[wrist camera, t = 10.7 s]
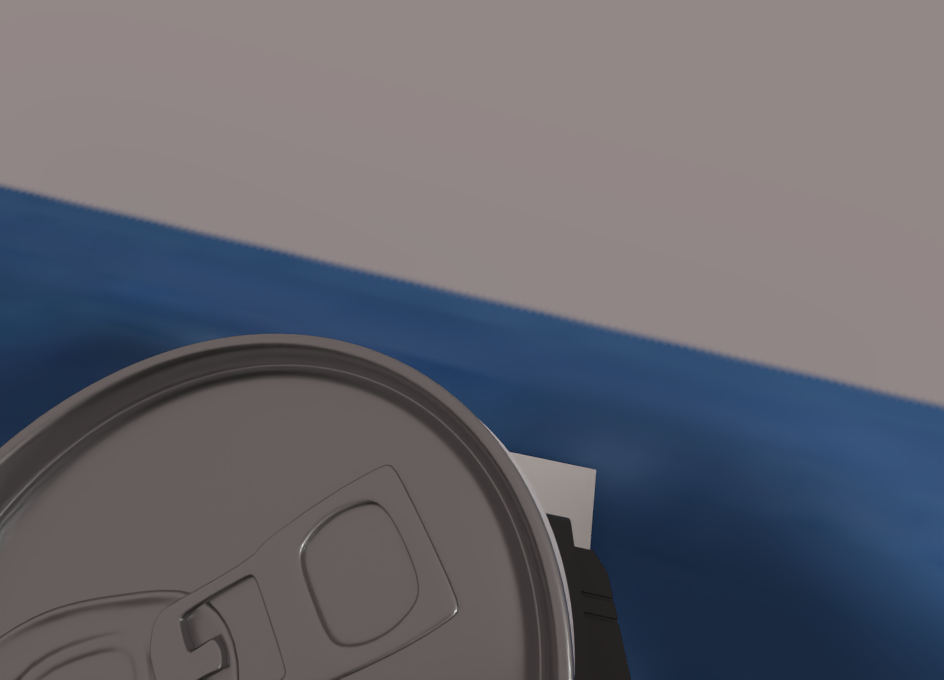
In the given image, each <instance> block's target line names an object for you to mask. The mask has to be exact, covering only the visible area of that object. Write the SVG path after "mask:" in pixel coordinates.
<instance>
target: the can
mask: <svg viewBox="0 0 944 680" xmlns="http://www.w3.org/2000/svg"><path fill="white" fill-rule="evenodd" d="M574 674H575V649H574V630H573V618H572V610H571V602H570V596H569V590H568V585H567V580H566V575H565V571H564V567H563V563H562V559H561V555H560V552H559V549H558V545H557V542H556V539H555V536H554V533H553V531H552V528H551V526H550V523H549V520H548V518H547V516H546V513H545V511H544V509H543V507H542V505H541V503H540V501H539V499H538V497H537V495H536V493H535V491H534V489H533V487H532V485H531V484H530V482H529V480H528V479H527V477H526V475H525V474H524V472H523V471H522V469H521V468H520V466H519V465H518V463H517V462H516V460H515V459H514V458H513V456H512V455H511V454H510V452H509V451H508V450H507V449H506V447H505V446H504V445H503V444H502V443H501V441H500V440H499V439H498V438H497V437H496V436H495V435H494V434H493V433H492V431H491V430H490V429H489V428H488V427H486V426H485V425H484V424H483V423H482V422H481V421H480V420H479V419H478V418H477V417H476V416H475V415H474V414H473V413H472V412H471V411H470V410H469V409H468V408H467V407H466V406H465V405H463V404H462V403H461V402H460V401H459V400H458V399H457V398H455V397H454V396H453V395H452V394H451V393H449V392H448V391H447V390H445V389H444V388H443V387H441V386H440V385H439V384H437V383H436V382H434V381H433V380H431V379H430V378H428V377H427V376H425V375H424V374H422V373H420V372H419V371H417V370H415V369H413V368H412V367H410V366H408V365H406V364H404V363H402V362H400V361H398V360H396V359H394V358H391V357H389V356H387V355H384V354H382V353H379V352H377V351H374V350H371V349H368V348H365V347H362V346H359V345H355V344H352V343H348V342H344V341H339V340H334V339H329V338H323V337H317V336H308V335H297V334H255V335H243V336H234V337H227V338H221V339H215V340H210V341H205V342H200V343H196V344H192V345H188V346H184V347H181V348H177V349H174V350H171V351H168V352H165V353H162V354H159V355H156V356H153V357H150V358H148V359H145V360H143V361H140V362H137V363H135V364H133V365H130V366H128V367H126V368H123V369H121V370H119V371H117V372H115V373H113V374H111V375H109V376H107V377H105V378H103V379H101V380H99V381H97V382H95V383H93V384H91V385H90V386H88V387H86V388H84V389H82V390H81V391H79V392H77V393H76V394H74V395H72V396H71V397H69V398H67V399H66V400H64V401H63V402H61V403H60V404H58V405H56V406H55V407H53V408H52V409H50V410H49V411H47V412H46V413H45V414H43V415H42V416H40V417H39V418H38V419H36V420H35V421H33V422H32V423H31V424H29V425H28V426H27V427H25V428H24V429H23V430H21V431H20V432H19V433H18V434H16V435H15V436H14V437H13V438H11V439H10V440H9V441H8V442H7V443H5V444H4V445H3V446H2V447H1V448H0V680H574Z"/></svg>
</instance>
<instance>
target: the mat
mask: <svg viewBox="0 0 944 680" xmlns="http://www.w3.org/2000/svg"><path fill="white" fill-rule="evenodd" d="M510 454H511V455H512V456H513V458H514V459H515V460H516V462H517V463H518V465H519V466H520V468H521V469H522V471H523V472H524V474H525V475H526V477H527V479H528V480H529V482H530V484H531V485H532V487H533V489H534V491H535V493H536V495H537V497H538V499H539V501H540V503H541V505H542V507H543V509H544V511H545V513H548V514H552V515H557V516H562V517H566V518H569V519H570V521H571V526H572V533H573V540H574V546H575V547H580V548H585V549H589V550H590V543H591V530H592V517H593V504H594V491H595V478H596V470H594V469H590V468H585V467H580V466H575V465H570V464H565V463H561V462H556V461H551V460H546V459H541V458H536V457H531V456H527V455H522V454H517V453H512V452H510Z"/></svg>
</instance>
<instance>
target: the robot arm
mask: <svg viewBox="0 0 944 680" xmlns="http://www.w3.org/2000/svg"><path fill="white" fill-rule="evenodd" d="M546 516H547V518H548V520H549V523H550V526H551V528H552V531H553V533H554V536H555V539H556V542H557V545H558V549H559V552H560V555H561V559H562V563H563V567H564V571H565V575H566V580H567V585H568V590H569V596H570V602H571V610H572V618H573V630H574V649H575V674H574V680H631V678H630V674H629V669H628V664H627V660H626V655H625V651H624V646H623V641H622V637H621V632H620V628H619V625H618V624H617V619H618V618H617V614H616V609H615V605H614V603H613V596H612V591H611V586H610V582H609V577H608V573H607V571H606V570H605V568H604V567H603V565H602V564H601V562H600V561H599V559H598V558H597V556H596V554H595V553H594V551H593V550H589V549H585V548H580V547H575V546H574V540H573V533H572V526H571V521H570V519H569V518H566V517H562V516H557V515H552V514H548V513H546Z"/></svg>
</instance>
